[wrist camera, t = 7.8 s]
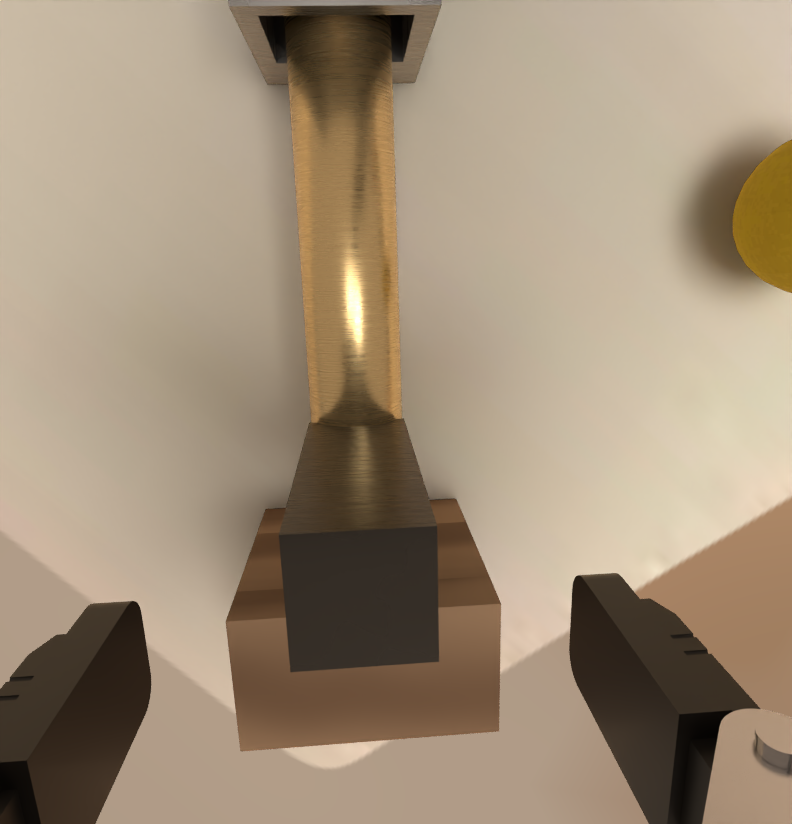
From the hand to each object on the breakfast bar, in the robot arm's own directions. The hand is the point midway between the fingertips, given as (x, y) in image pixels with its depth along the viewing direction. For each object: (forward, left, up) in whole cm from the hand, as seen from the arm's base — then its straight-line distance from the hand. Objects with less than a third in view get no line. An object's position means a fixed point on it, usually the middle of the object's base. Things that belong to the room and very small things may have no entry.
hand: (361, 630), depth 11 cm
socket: (+6, 0, -14) cm, 15 cm away
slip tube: (-5, 0, -11) cm, 12 cm away
